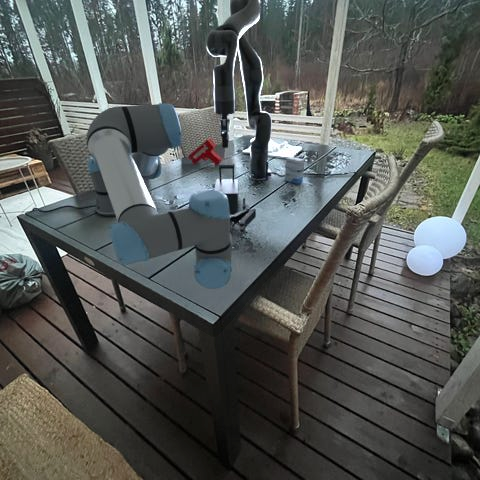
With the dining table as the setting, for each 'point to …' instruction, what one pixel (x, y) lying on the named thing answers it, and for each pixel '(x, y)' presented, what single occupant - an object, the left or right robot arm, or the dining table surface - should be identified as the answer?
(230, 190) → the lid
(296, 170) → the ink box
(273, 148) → the relief map
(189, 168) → the dining table surface
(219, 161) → the toy gun
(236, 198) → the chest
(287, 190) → the dining table surface
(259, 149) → the right robot arm
